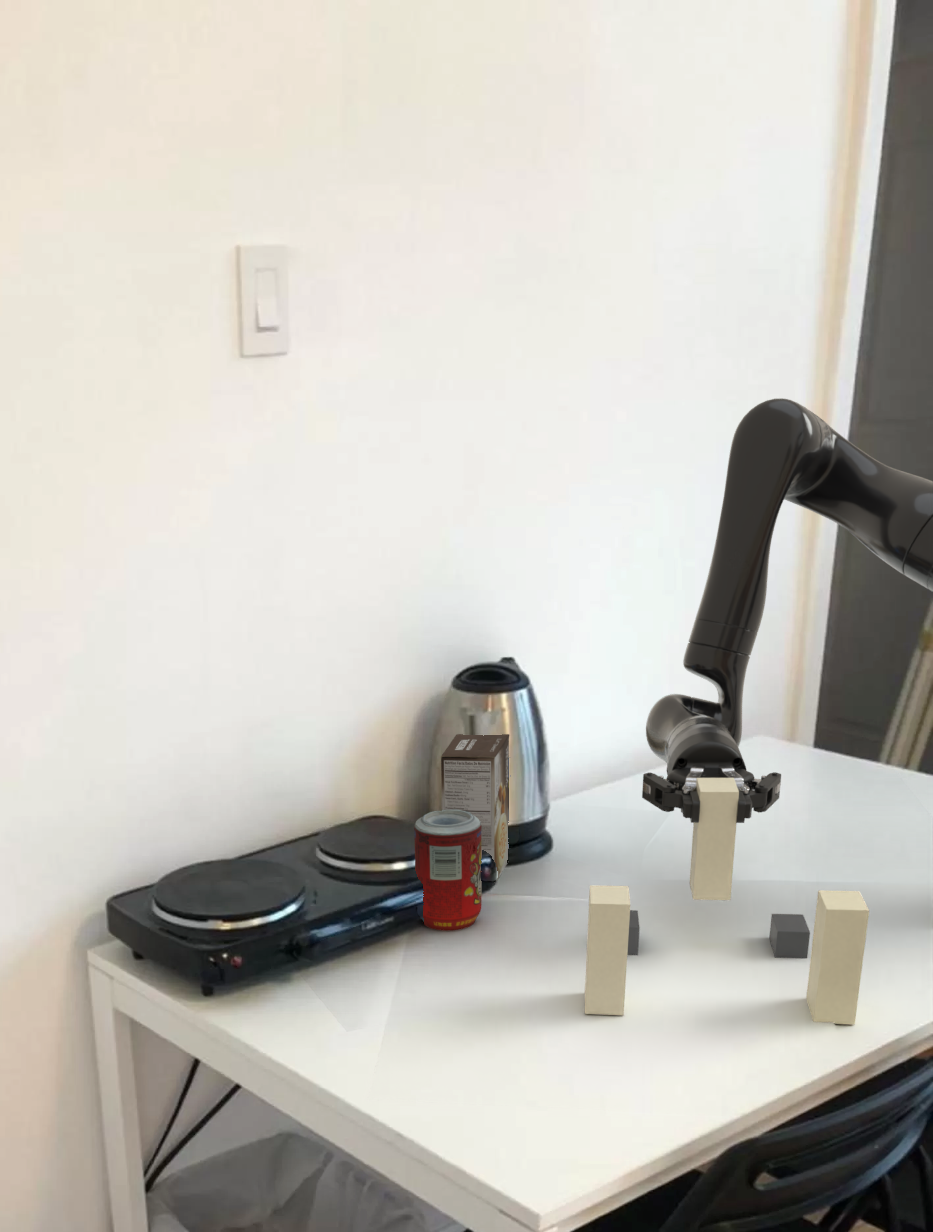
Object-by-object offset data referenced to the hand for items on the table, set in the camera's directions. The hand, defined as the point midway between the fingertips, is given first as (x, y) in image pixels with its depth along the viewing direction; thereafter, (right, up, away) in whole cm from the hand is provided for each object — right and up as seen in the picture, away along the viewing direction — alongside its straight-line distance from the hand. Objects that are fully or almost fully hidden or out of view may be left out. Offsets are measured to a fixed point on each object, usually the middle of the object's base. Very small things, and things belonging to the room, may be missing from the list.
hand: (718, 812), depth 142 cm
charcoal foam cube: (+9, -13, +7) cm, 18 cm away
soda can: (-22, -10, +20) cm, 32 cm away
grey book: (-6, -13, +11) cm, 18 cm away
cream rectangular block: (-11, -18, -1) cm, 22 cm away
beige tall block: (+8, -19, -6) cm, 22 cm away
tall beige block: (+1, -7, +6) cm, 9 cm away
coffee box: (-17, -4, +34) cm, 38 cm away
